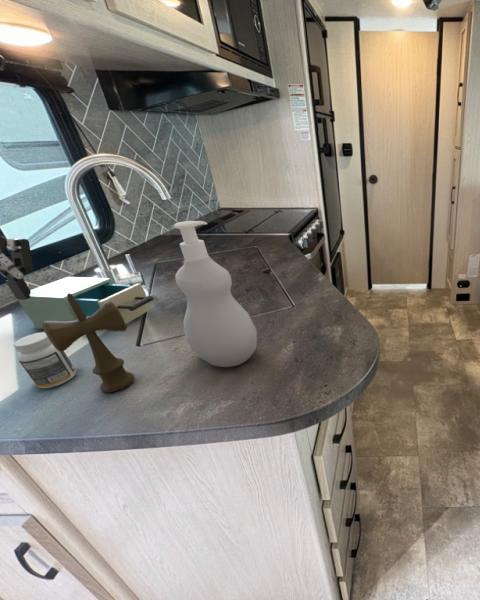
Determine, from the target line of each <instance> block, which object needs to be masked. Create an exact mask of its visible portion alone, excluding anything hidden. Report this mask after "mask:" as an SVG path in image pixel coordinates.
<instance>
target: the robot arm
mask: <svg viewBox="0 0 480 600" xmlns="http://www.w3.org/2000/svg"><path fill="white" fill-rule="evenodd" d="M30 245H31V244H30V241H29V239H27V238H6V237H5V236H3V235H2V234H0V275H1V276H3V277H4V279H6V280H4V282H5V284H6V285H7V287H8V288H9V290H10V291H11V293H12V294H13V296H14V297H15V298H16V299H17V300H18V299H19V300H26V299H29V298H30V294H31V291H30V290H31V289H30V287H29V285H28V284H27V283H26V281H25V279H24V276H25V275H27V274H28V273H32V272H33V271H34V265H33V257H32V252H31V246H30ZM6 250H8V251H10V255H11V259H10V258H9V257H8V256H7V255H5V254H6Z"/></svg>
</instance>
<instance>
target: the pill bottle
mask: <svg viewBox="0 0 480 600" xmlns="http://www.w3.org/2000/svg"><path fill="white" fill-rule="evenodd" d="M12 345H13V347H14V349H15V350H16V351H17V352H18V354H17V361H18V362H19V363H20V365H21V366H22V367H23V369H24V370H25V372H26V373H27V375H28V377H30V379H31V380H32V381H33V383H34V384H35V385H36V386H37V388H40V389H50V388H51V389H52V388H55V387H58V386H60V385H63V384H65V383H67V382H68V381H70V380H72V379H73V378H74V377H75V375H76V374H77V370H76V367H75V366H74V365H73V363H72V362H71V360H70V358H69V357H68V355H67V353H66V352H65V351H62V352H60V351H58V350H57V349H56V348H55V347H54V346H53V344H52V343H51V341H50V340H49V339H48V337H47V335H46V333H45V331H44V332H43V331H42V332H35V333H32V334H29V335H28V334H27V335H26V336H22V337H21V338H18V339H17V340H15V341H14V342H13V344H12Z"/></svg>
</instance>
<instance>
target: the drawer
mask: <svg viewBox="0 0 480 600" xmlns="http://www.w3.org/2000/svg"><path fill="white" fill-rule="evenodd" d="M74 298H75V300H76V301H77V303H78V305H79V306H80V308H81V310H82V311H83V313H84V315H85V316H86V317H88V316H91V315H93V314H94V313H96V312H97V311H98V310H99V309H100V308H101V307H102V306H103V305H104V304H105V303H106V302H107V301H110V302H112V303H113V304H114V305H115V306H116V307H117V309H118V310H119V312H120V314H121V315H122V317H123V319H124V322H125V325H127V324H128V323H130V322H132V321H134V320H135V319H138V318H139V317H141V315H144V314H145V313H147V312H149V311H151V310H152V309H153V308H152V306H151V304H150V303H151V302H152V301H154V297H153V296H152V295H148V296H147V294H146V292H145V289H144V287H143V284H142V283H138V282H137V283H134V284H133V285H131V284H118V283H117V284H115V283H113V284H103V285H101V286H98V287H96V288H93V289H91V290H89V291H86V292H84V293H81V294H79V295H77V296H74ZM67 300H68V301H69V299H67ZM69 303H70V301H69ZM70 305H71V303H70ZM71 307H72V305H71ZM72 308H73V307H72ZM73 310H74V309H73ZM74 312H75V311H74ZM75 314H76V313H75Z"/></svg>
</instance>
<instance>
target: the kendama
mask: <svg viewBox="0 0 480 600" xmlns="http://www.w3.org/2000/svg"><path fill="white" fill-rule="evenodd" d="M67 296H68V299H69V301H70V303H71V305H72V307H73V309H74V311H75V313H76V315H77V317H78V319H79V320H75V321H44V322H43V323H42V326H43V329H42V330H43V331H44V332H45V333H46V335H47V337H48V339H49V340H50V341H51V343H52V344H53V346H54V347H55V348H56V349H57V350H58V351H60V352H62V351H64V352H65V351H66V350H68V349H69V348H70V347H71V346H72V345H73V344H74V343H75V342H76V341H78V340H79V339H81V338H82V337H84V336H86V339H87V341H88V344H89V348H90V349H91V352H92V356H93V359H94V362H95V364H94V365H95V366H94V367H93V368H92V373H93V374H94V375H96V376H100V379H101V380H102V382H101V384H100V386H99V388H100V391H101V392H103V393H114V392H118V391H120V390H123V389H125V388H126V387H128V386H129V385H130V384H132V383H133V382H134V380H135V375H134V374H133V373H131V372H129V371H126V369H125V367H124V364H125V360H124V359H123V358H121V357H116V356H115V355H114V354H113V353H112V351H111V350H110V349H109V348H108V347H107V346H106V345H105V343H104V342H103V340H102V339H101V338H100V336H99V335H98V333H97V332H99V331H114V332H125V331H126V330H127V324H125V322H124V319H123V317H122V315H121V314H120V312H119V310H118V309H117V307H116V306H115V305H114V304H113V303H112V302H110V301H107V302H106V303H105V304H104V305H103V306H102V307H101V308H100V309H99V310H98V311H97V312H96V313H94V314H93V315H91V316H88V317H86V316H85V315H84V313H83V311H82V310H81V308H80V306H79V305H78V303H77V301H76V300H75V298H74V297H73V296H72V294H70V293H68V294H67Z"/></svg>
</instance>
